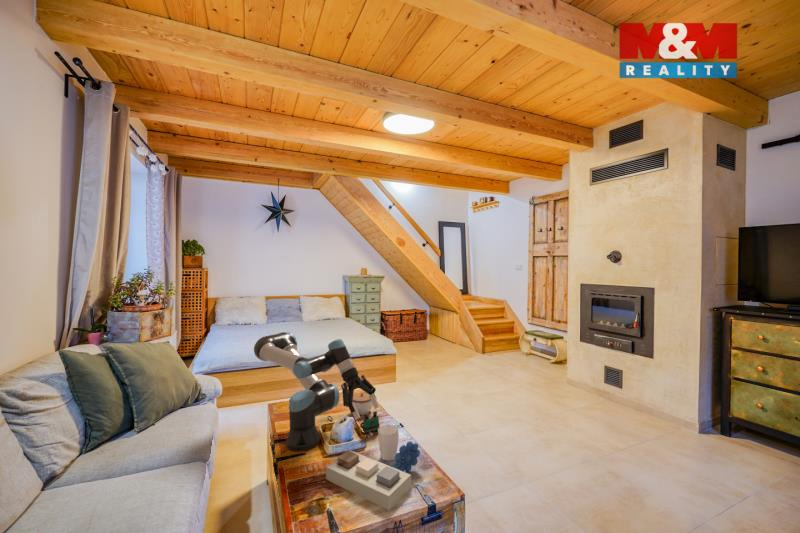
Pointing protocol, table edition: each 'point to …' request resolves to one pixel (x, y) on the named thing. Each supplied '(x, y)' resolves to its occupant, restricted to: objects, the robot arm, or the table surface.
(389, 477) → the slate key
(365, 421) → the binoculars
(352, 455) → the walnut key
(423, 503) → the table surface
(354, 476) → the key panel
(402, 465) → the grapes
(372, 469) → the ivory key
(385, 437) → the cup
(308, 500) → the table surface
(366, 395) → the lidded bowl
